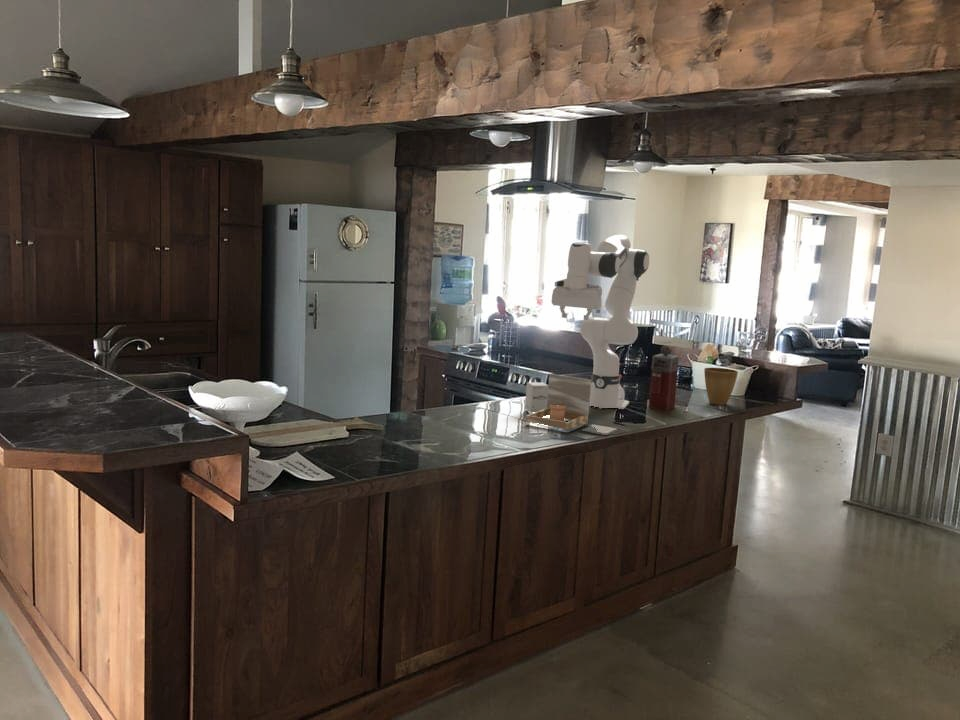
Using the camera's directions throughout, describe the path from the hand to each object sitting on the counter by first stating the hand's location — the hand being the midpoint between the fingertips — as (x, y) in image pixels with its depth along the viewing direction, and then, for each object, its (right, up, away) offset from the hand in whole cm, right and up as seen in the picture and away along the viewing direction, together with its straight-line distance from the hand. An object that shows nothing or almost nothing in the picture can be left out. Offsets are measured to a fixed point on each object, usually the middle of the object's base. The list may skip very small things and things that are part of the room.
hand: (575, 318), depth 307 cm
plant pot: (+73, -37, +53) cm, 97 cm away
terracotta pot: (-8, -42, -3) cm, 43 cm away
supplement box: (-14, -39, +16) cm, 44 cm away
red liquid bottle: (+43, -38, +39) cm, 69 cm away
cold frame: (-8, -42, -3) cm, 43 cm away
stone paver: (+8, -44, -10) cm, 45 cm away
